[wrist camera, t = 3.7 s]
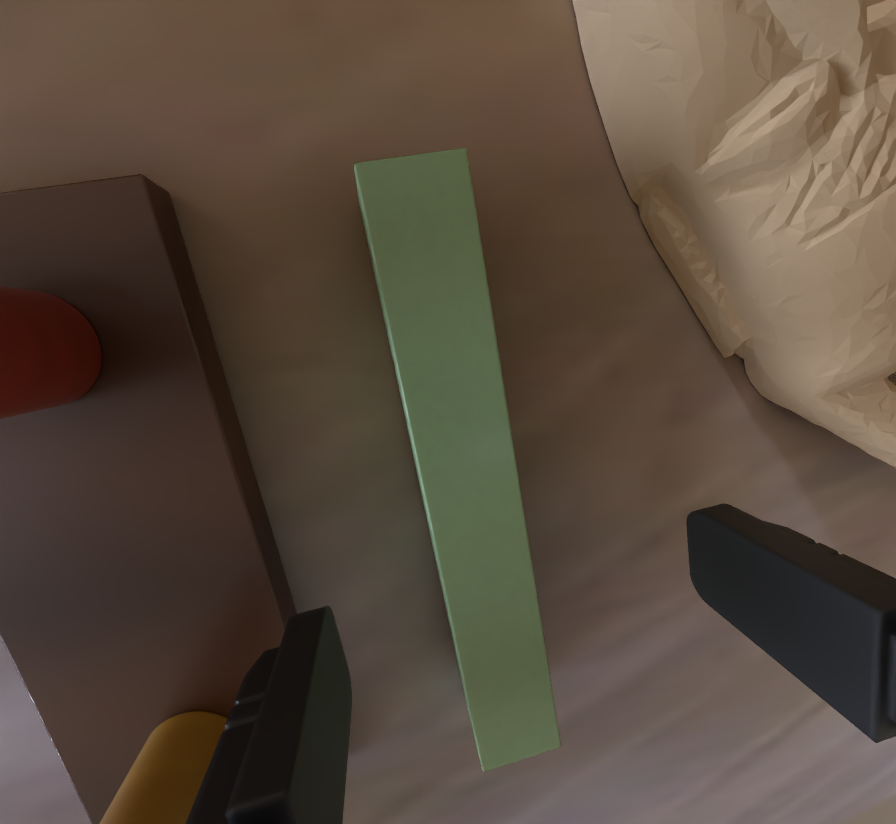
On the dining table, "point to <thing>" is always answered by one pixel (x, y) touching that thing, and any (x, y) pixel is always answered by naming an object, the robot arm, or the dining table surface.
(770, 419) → the dining table surface
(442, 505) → the green bar
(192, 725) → the dowel stand
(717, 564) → the robot arm
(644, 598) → the dining table surface
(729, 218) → the mask
